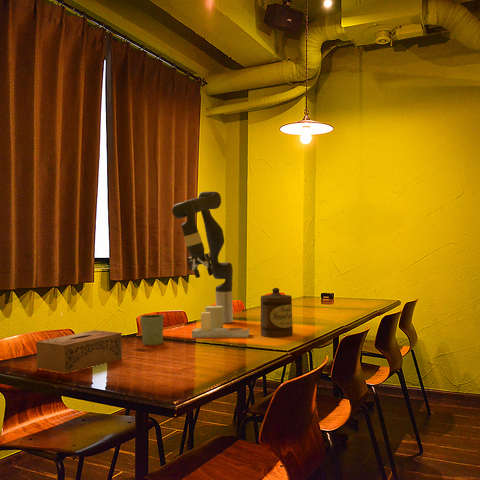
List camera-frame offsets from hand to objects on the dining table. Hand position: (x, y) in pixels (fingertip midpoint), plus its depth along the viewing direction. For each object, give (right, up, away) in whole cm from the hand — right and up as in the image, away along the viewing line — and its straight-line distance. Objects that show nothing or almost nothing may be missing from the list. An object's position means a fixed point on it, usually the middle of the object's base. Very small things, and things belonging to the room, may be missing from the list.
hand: (204, 276), depth 224 cm
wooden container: (+34, -28, 0) cm, 44 cm away
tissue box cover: (-41, -28, -52) cm, 72 cm away
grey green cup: (-22, -28, -15) cm, 39 cm away
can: (+4, -29, +19) cm, 34 cm away
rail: (+8, -28, -1) cm, 29 cm away
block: (+1, -28, 0) cm, 28 cm away
